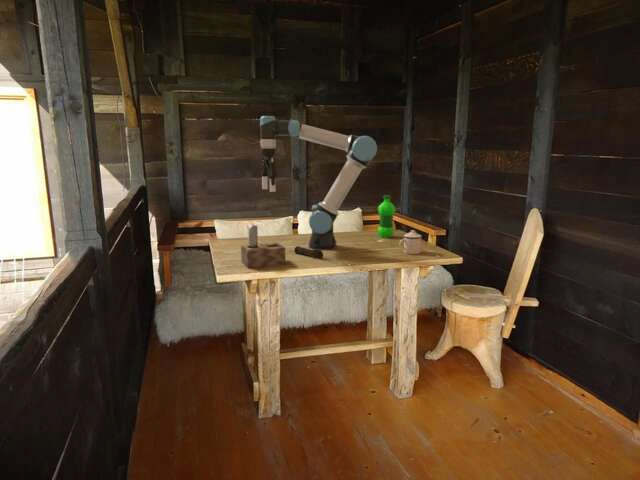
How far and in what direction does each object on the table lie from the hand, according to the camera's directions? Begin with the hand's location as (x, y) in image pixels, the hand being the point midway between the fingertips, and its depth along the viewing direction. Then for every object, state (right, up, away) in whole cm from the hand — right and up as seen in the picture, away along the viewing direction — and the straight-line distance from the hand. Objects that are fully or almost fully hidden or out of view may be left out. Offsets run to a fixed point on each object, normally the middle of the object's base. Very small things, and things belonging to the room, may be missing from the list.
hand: (268, 190), depth 244 cm
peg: (-5, -34, -20) cm, 40 cm away
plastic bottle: (+66, -24, +45) cm, 83 cm away
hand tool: (+21, -34, -3) cm, 40 cm away
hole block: (-1, -36, -18) cm, 40 cm away
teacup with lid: (+73, -32, +6) cm, 80 cm away
